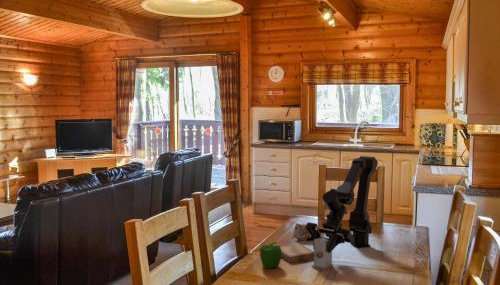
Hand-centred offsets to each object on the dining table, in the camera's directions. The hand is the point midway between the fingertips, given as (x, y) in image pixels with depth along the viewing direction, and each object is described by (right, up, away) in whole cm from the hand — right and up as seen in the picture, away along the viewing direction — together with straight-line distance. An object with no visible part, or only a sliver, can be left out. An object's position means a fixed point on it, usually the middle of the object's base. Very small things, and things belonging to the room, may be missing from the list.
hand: (321, 251), depth 187 cm
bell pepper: (-19, -7, +2) cm, 21 cm away
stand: (-9, -5, +14) cm, 18 cm away
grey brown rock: (-1, -3, +39) cm, 39 cm away
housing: (+1, -6, +2) cm, 7 cm away
